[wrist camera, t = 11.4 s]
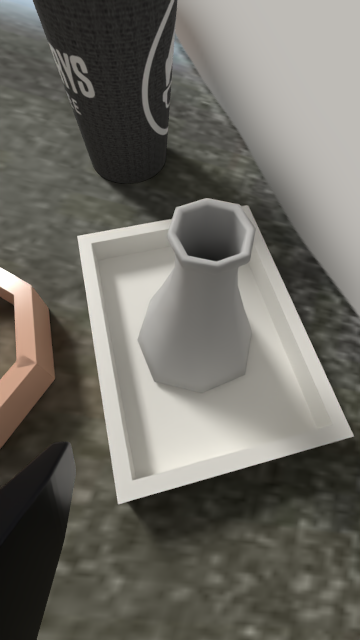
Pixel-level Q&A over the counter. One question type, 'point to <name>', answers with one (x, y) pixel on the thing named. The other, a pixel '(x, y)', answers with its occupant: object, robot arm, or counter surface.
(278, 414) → the tray
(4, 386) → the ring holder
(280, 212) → the counter surface
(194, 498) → the counter surface
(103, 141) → the coffee cup
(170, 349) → the flask
